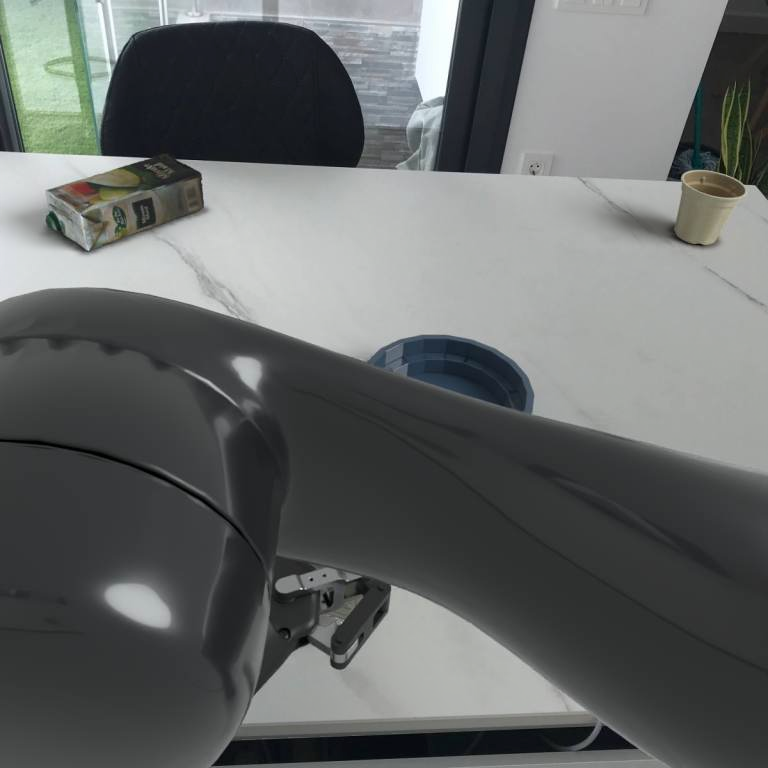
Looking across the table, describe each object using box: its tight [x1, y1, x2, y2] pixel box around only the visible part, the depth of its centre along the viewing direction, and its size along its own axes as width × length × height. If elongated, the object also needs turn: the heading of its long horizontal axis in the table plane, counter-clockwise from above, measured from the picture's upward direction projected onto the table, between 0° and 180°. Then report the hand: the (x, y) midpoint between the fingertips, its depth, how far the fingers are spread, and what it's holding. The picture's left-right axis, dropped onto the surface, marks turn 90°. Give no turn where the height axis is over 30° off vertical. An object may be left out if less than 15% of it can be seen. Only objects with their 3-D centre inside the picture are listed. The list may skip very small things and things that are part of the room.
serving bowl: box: [366, 334, 535, 414], centre depth 80 cm, size 18×18×4 cm
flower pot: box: [673, 169, 749, 246], centre depth 116 cm, size 9×9×9 cm
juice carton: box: [45, 153, 205, 252], centre depth 107 cm, size 20×10×6 cm, turn 138°
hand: (354, 511), depth 58 cm, fingers closed on cosmetic box, 7 cm apart
